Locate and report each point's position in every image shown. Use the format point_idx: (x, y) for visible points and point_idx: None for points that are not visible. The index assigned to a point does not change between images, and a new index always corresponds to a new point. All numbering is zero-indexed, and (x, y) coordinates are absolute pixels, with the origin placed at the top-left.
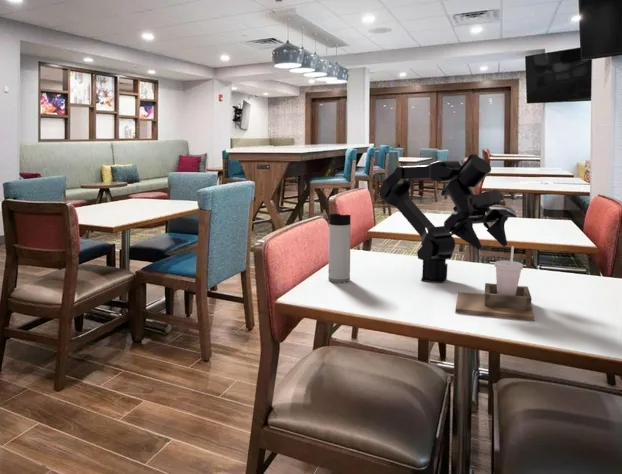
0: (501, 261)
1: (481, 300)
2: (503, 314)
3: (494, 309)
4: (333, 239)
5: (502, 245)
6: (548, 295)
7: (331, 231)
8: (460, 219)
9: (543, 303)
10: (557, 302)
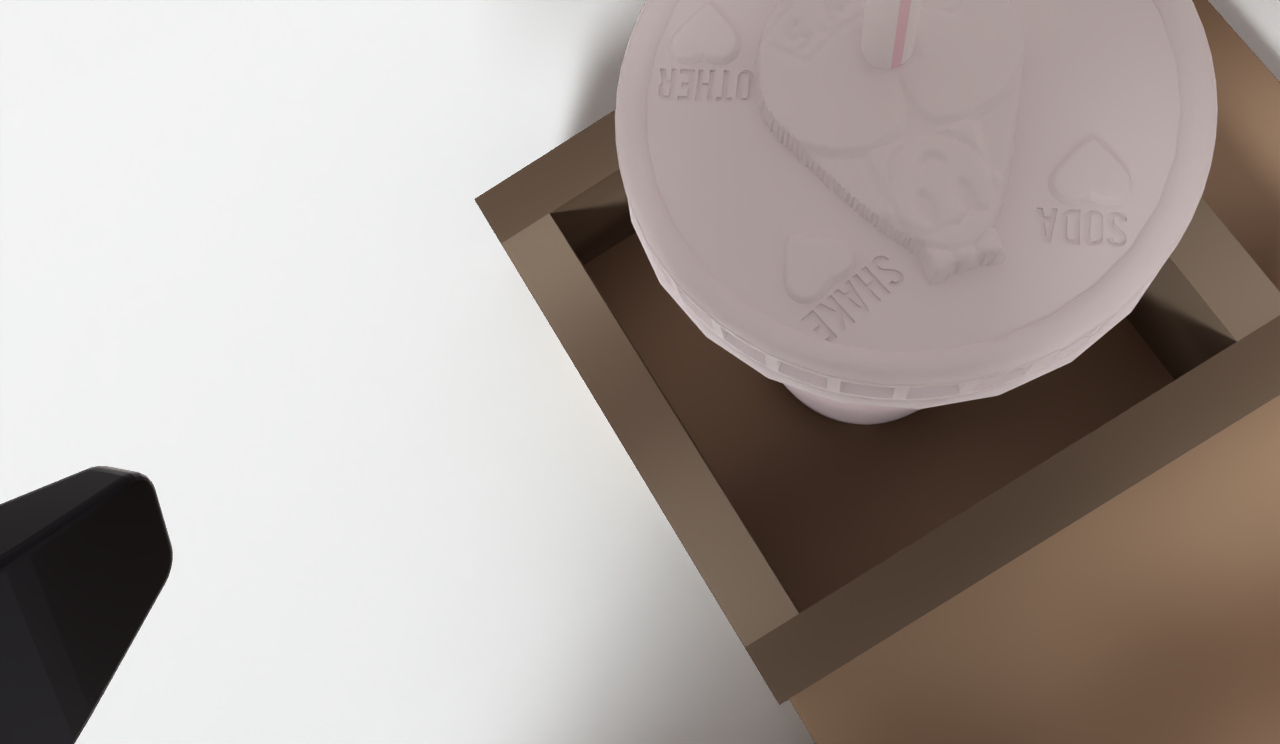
0: (829, 317)
1: (1075, 561)
2: None
3: (1263, 250)
4: None
5: (143, 620)
6: (112, 245)
7: None
8: None
9: (434, 134)
10: (293, 67)
